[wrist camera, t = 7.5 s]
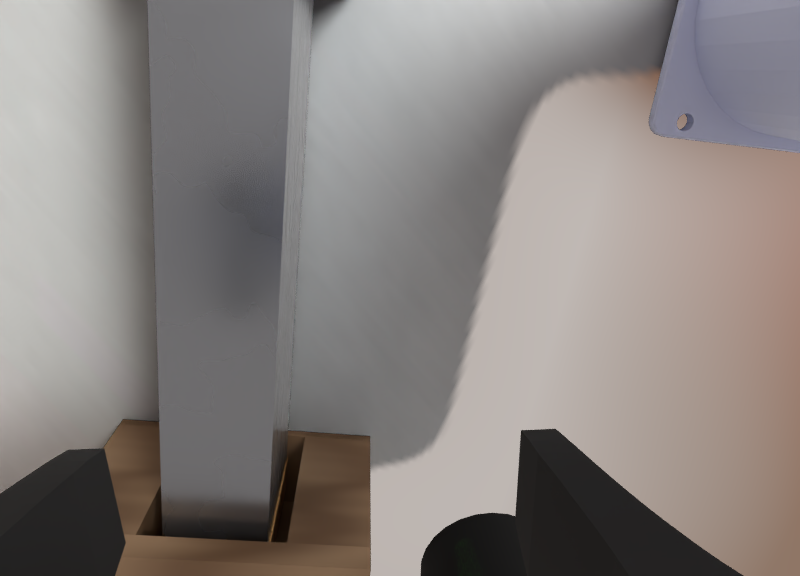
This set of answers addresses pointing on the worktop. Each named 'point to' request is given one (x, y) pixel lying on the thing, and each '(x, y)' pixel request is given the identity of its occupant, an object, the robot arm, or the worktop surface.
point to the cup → (476, 548)
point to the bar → (226, 254)
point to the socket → (251, 560)
